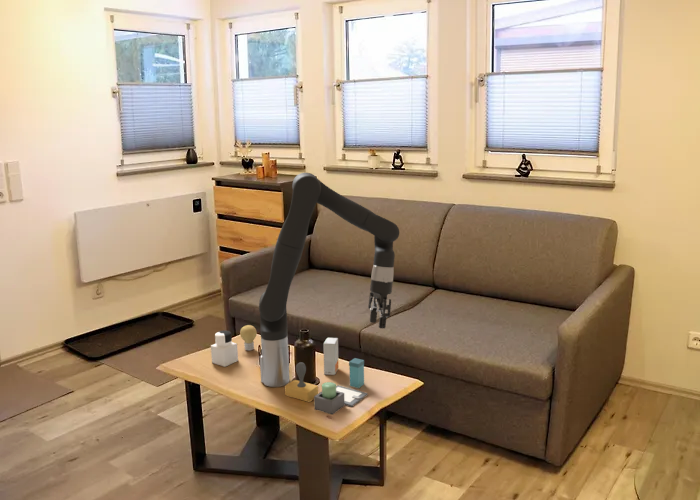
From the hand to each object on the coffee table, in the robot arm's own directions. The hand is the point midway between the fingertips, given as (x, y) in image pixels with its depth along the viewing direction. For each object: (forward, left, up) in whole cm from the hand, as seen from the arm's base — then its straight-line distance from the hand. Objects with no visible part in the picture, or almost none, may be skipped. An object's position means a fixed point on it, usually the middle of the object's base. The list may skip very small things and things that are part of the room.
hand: (377, 325), depth 227 cm
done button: (-3, -26, -17) cm, 31 cm away
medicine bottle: (-58, -15, -21) cm, 64 cm away
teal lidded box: (-4, -7, -20) cm, 22 cm away
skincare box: (-18, -2, -21) cm, 28 cm away
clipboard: (-3, -17, -20) cm, 27 cm away
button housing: (-3, -26, -20) cm, 33 cm away
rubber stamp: (-16, -23, -21) cm, 35 cm away
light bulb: (-58, -1, -21) cm, 62 cm away
